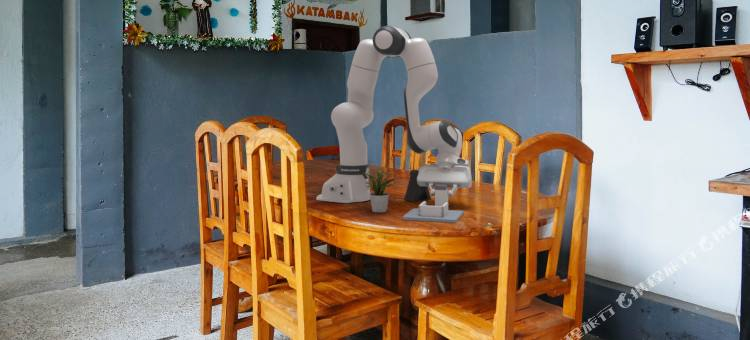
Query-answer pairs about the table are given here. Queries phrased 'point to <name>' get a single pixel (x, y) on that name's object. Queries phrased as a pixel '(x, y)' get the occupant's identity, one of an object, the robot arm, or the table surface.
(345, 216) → the table surface
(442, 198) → the cable plug
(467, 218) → the table surface
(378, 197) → the house plant
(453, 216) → the dock board
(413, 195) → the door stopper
